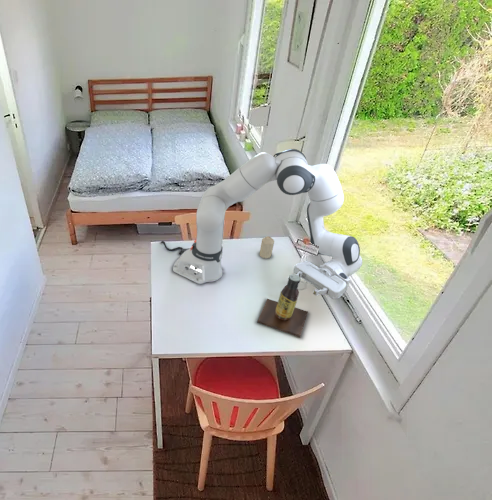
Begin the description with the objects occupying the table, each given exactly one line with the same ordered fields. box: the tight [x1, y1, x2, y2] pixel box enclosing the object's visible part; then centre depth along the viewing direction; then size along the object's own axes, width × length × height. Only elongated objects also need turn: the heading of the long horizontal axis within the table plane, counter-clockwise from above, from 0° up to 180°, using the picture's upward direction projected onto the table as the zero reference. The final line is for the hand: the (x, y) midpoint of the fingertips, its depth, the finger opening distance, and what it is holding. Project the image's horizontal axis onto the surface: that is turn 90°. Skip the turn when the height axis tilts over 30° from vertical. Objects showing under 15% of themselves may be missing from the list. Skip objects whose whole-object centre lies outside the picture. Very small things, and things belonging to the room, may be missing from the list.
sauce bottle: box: [275, 273, 302, 320], centre depth 143 cm, size 7×6×20 cm
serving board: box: [256, 298, 309, 338], centre depth 149 cm, size 16×14×1 cm
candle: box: [259, 235, 275, 259], centre depth 180 cm, size 6×6×10 cm
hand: (304, 286), depth 145 cm, fingers open, 8 cm apart
